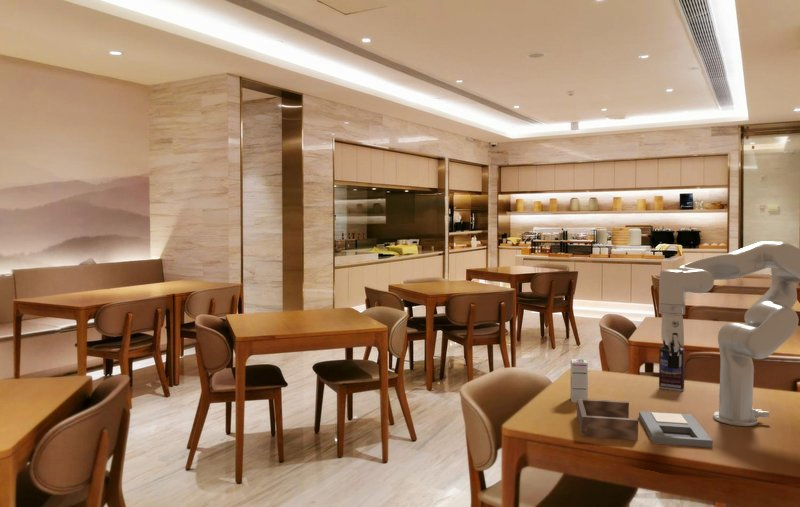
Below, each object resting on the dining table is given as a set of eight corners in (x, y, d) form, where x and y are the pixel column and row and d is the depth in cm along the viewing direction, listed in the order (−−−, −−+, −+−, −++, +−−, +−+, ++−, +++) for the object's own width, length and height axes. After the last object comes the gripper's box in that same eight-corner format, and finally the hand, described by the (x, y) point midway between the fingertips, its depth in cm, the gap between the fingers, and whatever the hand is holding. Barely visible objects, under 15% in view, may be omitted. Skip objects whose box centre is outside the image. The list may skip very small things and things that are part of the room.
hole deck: (691, 420, 200) (691, 413, 200) (712, 447, 177) (712, 439, 176) (638, 417, 203) (639, 410, 203) (653, 443, 180) (653, 435, 180)
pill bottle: (655, 373, 197) (656, 338, 196) (671, 371, 199) (672, 337, 198) (669, 377, 191) (670, 342, 190) (685, 376, 193) (686, 341, 192)
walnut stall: (627, 419, 201) (628, 401, 200) (637, 440, 182) (638, 420, 182) (576, 416, 204) (577, 398, 204) (581, 436, 185) (581, 416, 185)
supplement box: (684, 388, 237) (685, 348, 236) (682, 391, 232) (683, 350, 231) (660, 385, 241) (661, 345, 240) (658, 388, 237) (659, 347, 236)
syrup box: (588, 403, 218) (588, 362, 217) (570, 402, 219) (571, 362, 219) (586, 398, 224) (587, 359, 223) (569, 397, 225) (570, 358, 224)
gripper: (691, 313, 184) (690, 373, 185) (678, 305, 201) (677, 359, 202) (665, 313, 186) (663, 371, 187) (653, 304, 203) (652, 358, 204)
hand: (670, 365), depth 195 cm, fingers closed on pill bottle, 6 cm apart
